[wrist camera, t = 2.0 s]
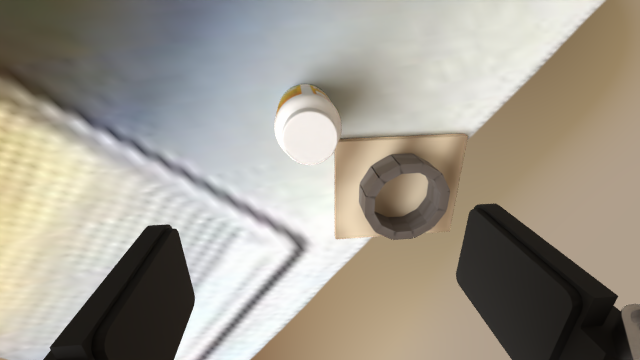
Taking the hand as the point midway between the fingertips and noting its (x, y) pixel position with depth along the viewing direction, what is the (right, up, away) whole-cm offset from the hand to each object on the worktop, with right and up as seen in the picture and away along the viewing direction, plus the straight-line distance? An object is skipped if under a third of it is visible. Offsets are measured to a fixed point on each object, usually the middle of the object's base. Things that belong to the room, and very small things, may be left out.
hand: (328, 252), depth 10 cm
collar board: (+8, +2, +24) cm, 26 cm away
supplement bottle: (-2, +9, +20) cm, 22 cm away
